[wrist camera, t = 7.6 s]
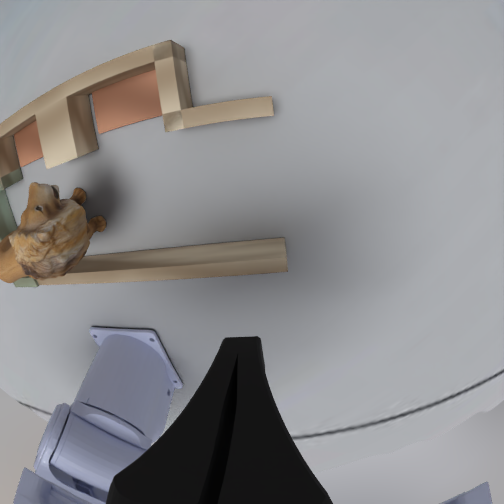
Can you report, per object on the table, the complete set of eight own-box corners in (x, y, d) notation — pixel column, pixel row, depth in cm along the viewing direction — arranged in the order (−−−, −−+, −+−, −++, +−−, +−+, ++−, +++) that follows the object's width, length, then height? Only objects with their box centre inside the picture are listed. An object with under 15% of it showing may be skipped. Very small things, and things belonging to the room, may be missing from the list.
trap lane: (285, 250, 19) (288, 274, 16) (30, 271, 21) (15, 287, 19) (262, 34, 12) (261, 21, 9) (-12, 142, 14) (-33, 151, 12)
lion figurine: (106, 143, 15) (8, 188, 8) (144, 208, 18) (72, 290, 10) (14, 230, 19) (-45, 283, 11) (42, 273, 21) (-8, 334, 14)
